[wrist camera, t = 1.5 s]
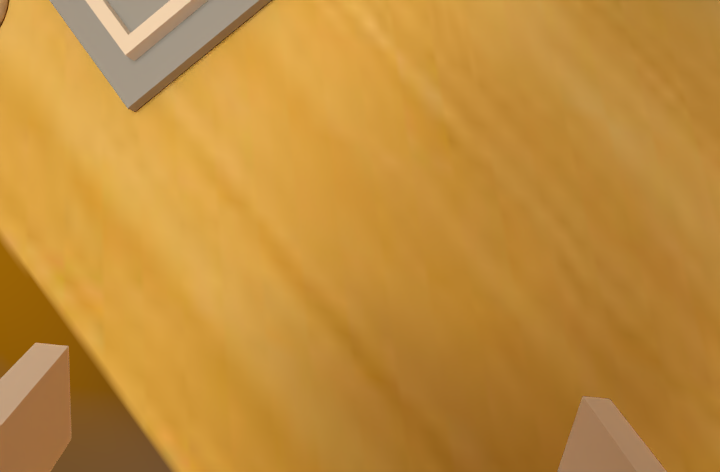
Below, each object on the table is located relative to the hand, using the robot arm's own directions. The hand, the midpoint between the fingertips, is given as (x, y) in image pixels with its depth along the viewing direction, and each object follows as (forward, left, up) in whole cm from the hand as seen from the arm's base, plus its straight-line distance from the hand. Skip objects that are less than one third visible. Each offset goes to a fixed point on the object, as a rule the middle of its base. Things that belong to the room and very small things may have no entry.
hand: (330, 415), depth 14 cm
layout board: (-1, -30, -23) cm, 38 cm away
